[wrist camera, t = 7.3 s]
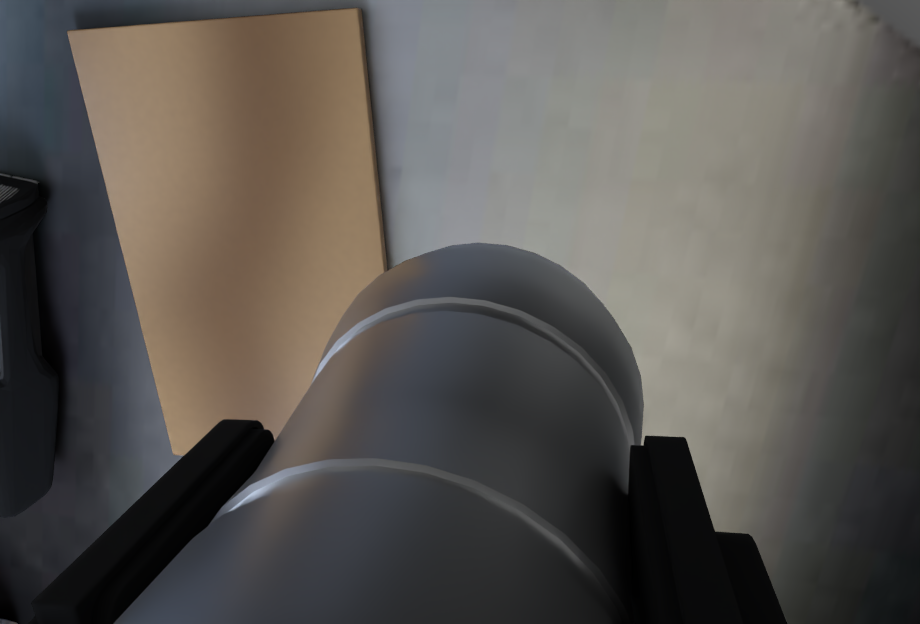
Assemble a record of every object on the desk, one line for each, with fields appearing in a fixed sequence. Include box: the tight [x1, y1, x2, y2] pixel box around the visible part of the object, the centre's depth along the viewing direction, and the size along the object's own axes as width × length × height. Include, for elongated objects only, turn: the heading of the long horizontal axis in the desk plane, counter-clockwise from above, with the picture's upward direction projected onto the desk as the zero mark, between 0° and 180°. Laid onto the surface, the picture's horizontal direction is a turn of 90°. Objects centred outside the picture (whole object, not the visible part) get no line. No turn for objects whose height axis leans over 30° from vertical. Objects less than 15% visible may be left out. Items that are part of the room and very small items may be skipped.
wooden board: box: [67, 8, 388, 455], centre depth 25 cm, size 11×18×1 cm, turn 3°
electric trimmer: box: [0, 173, 59, 518], centre depth 28 cm, size 4×16×3 cm, turn 170°
